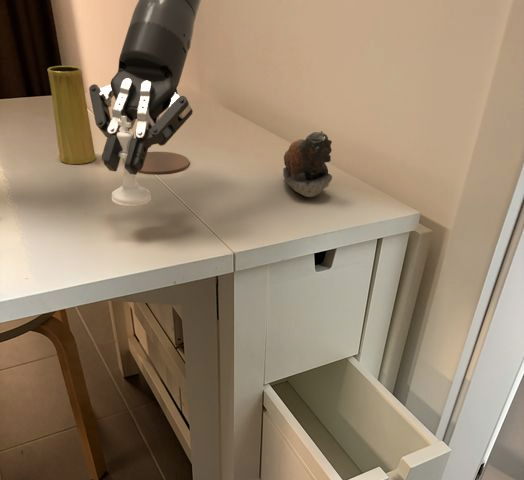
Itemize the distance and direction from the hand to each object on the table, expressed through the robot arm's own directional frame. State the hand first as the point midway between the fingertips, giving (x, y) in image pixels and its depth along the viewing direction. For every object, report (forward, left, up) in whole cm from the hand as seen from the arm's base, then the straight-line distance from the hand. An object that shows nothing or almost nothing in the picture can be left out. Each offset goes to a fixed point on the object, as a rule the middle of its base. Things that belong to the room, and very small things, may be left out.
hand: (120, 169), depth 67 cm
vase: (+10, +33, -9) cm, 36 cm away
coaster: (+20, +23, -9) cm, 32 cm away
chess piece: (+2, +1, -5) cm, 5 cm away
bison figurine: (+32, -1, -9) cm, 33 cm away
